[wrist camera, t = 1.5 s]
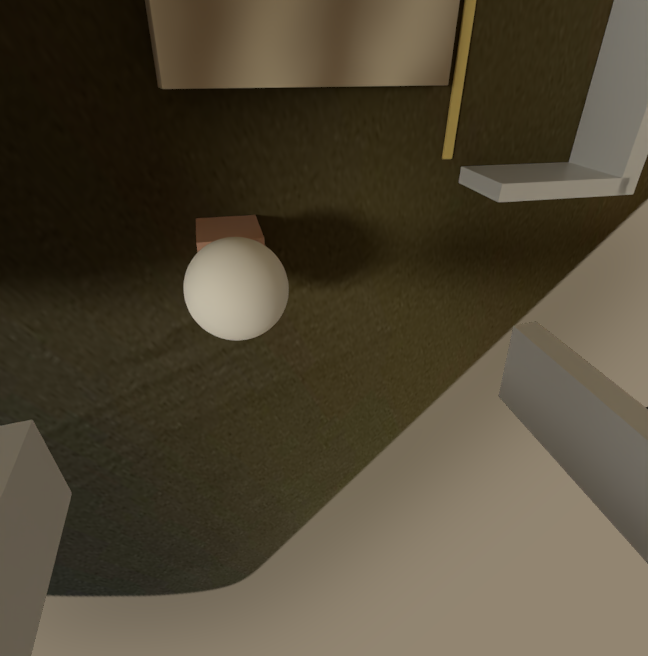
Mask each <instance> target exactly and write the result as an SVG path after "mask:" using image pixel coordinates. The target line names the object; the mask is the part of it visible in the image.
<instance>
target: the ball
mask: <svg viewBox="0 0 648 656" xmlns="http://www.w3.org/2000/svg"><path fill="white" fill-rule="evenodd" d="M183 289H184V298H185V302H186V305H187V307H188V310H189V312H190V314H191V315H192V317H193V318H194V320H195V321H196V322H197V323H198V324H199V325H200V326H201V327H202V328H203V329H205V330H206V331H207V332H209V333H211V334H213V335H215V336H217V337H220V338H223V339H227V340H246V339H251V338H254V337H257V336H259V335H261V334H263V333H265V332H266V331H268V330H269V329H270V328H271V327H272V326H274V324H275V323H276V322H277V321H278V320H279V318H280V317H281V315H282V314H283V312H284V309H285V307H286V304H287V300H288V291H289V286H288V279H287V275H286V272H285V269H284V267H283V265H282V263H281V262H280V260H279V259H278V257H277V256H276V255H275V254H274V253H273V252H272V251H271V250H270V249H269V248H267V247H266V246H265V245H263V244H261V243H259V242H257V241H255V240H252V239H249V238H244V237H226V238H222V239H218V240H216V241H213V242H211V243H210V244H208V245H206V246H205V247H203V248H202V249H201V250H200V251H199V252H198V253H197V254H196V255H195V256H194V258H193V259H192V260H191V262H190V264H189V266H188V268H187V271H186V274H185V278H184V286H183Z"/></svg>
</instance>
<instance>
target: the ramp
mask: <svg viewBox="0 0 648 656" xmlns="http://www.w3.org/2000/svg"><path fill="white" fill-rule="evenodd" d="M459 3H460V0H145V5H146V11H147V18H148V24H149V31H150V38H151V44H152V51H153V57H154V64H155V70H156V77H157V83H158V87H159V88H161V89H208V88H282V87H356V86H430V85H448V83H449V76H450V68H451V61H452V54H453V47H454V39H455V32H456V25H457V18H458V11H459Z"/></svg>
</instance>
